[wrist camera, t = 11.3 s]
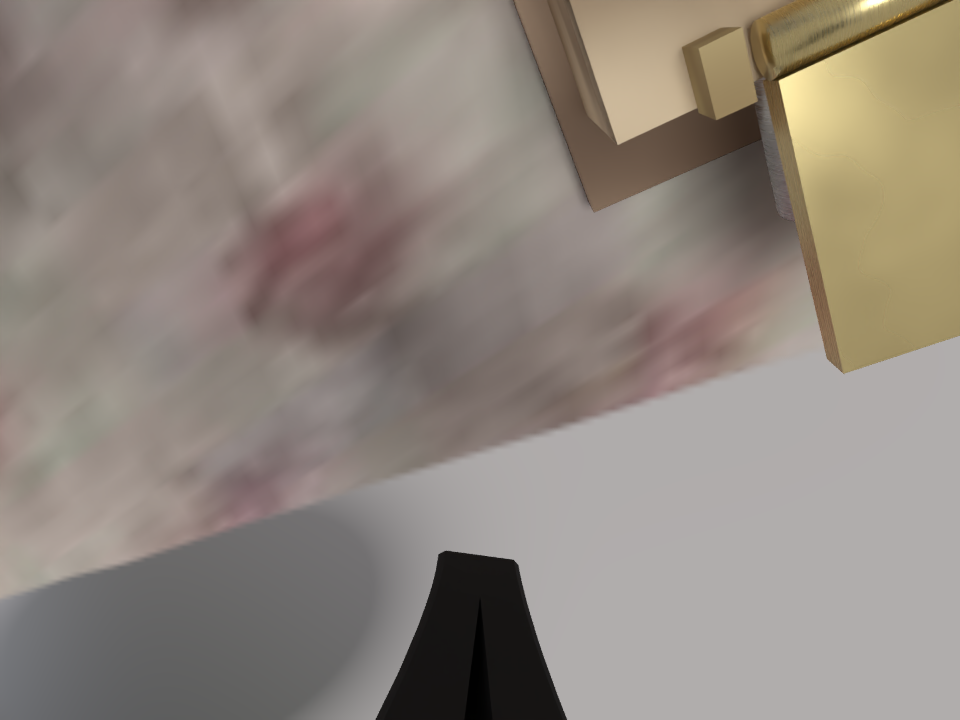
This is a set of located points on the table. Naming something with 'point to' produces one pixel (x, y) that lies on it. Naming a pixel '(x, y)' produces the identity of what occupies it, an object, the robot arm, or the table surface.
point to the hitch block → (646, 84)
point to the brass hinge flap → (870, 165)
